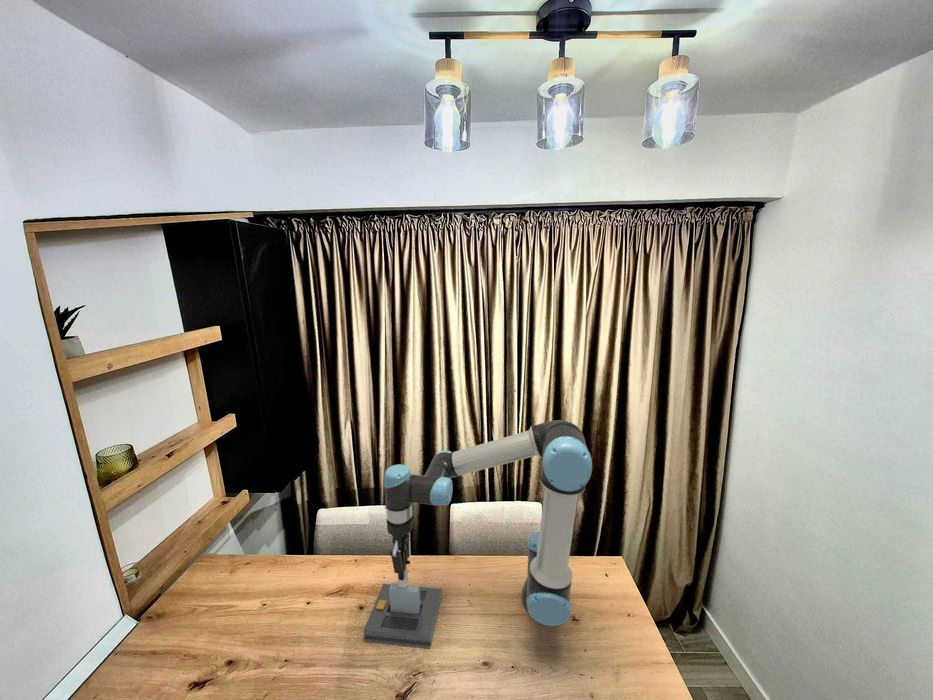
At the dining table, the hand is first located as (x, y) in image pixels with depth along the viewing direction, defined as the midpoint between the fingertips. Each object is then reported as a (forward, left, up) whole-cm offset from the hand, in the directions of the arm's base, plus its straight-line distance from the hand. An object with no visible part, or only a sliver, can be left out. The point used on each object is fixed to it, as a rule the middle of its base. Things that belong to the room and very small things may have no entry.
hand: (403, 584), depth 113 cm
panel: (0, 0, -11) cm, 11 cm away
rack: (0, 0, -12) cm, 12 cm away
